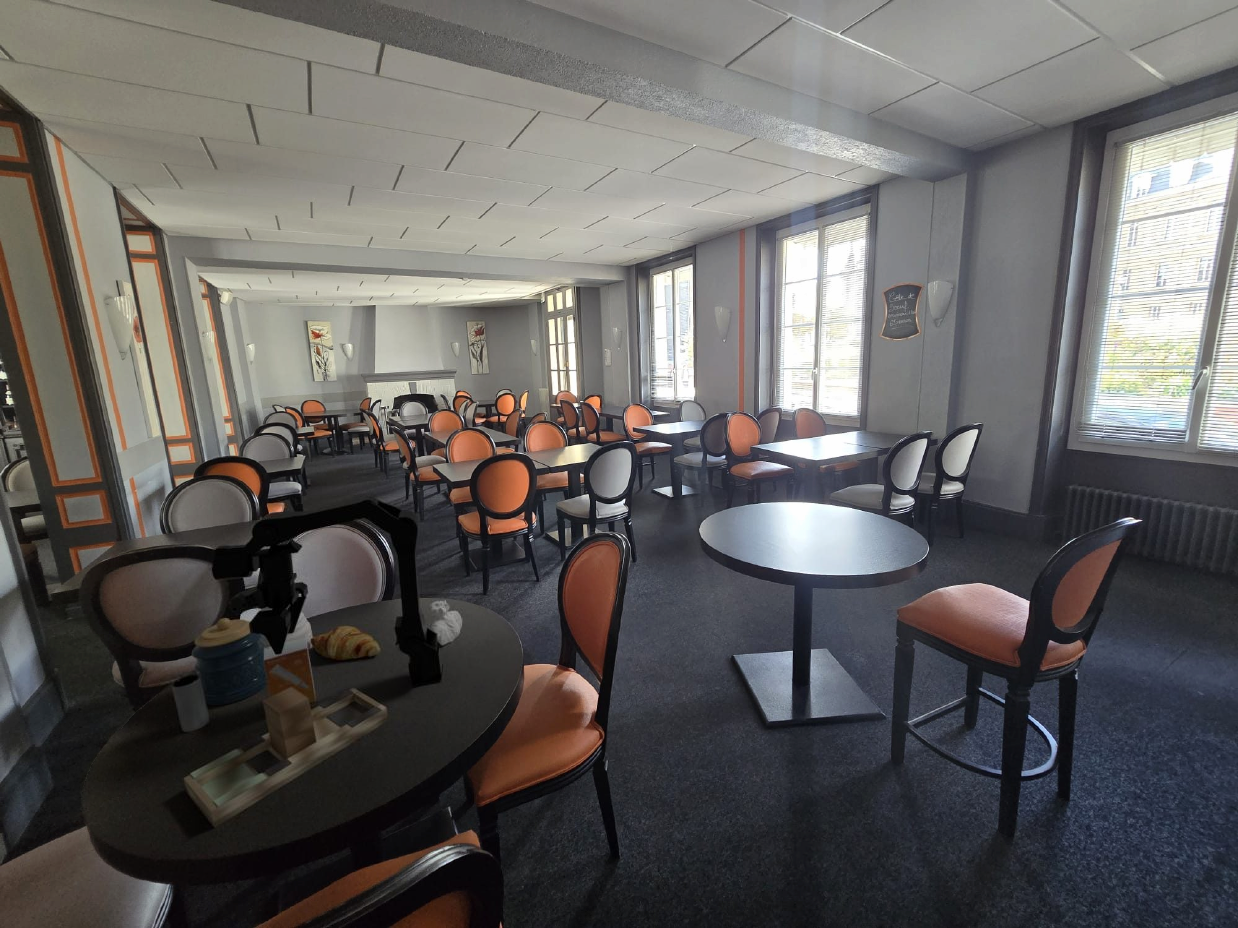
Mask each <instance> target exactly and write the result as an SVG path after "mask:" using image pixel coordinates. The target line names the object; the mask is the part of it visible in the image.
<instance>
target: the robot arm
mask: <svg viewBox="0 0 1238 928" xmlns="http://www.w3.org/2000/svg"><path fill="white" fill-rule="evenodd" d="M362 519H366V520H367V521H369V522H371V523H372V524H374V525H375V526H376V527H378V528H379V529H380V530H382V531H384V532H385V533H388V534H389V536H390V539H391V543H392V546H393V549H394V551H395V553H396V556H397V562H398V563H397V564H398V575H399V576H398V577H399V578H398V579H399V588H400V589H399V590H400V598H401V599H400V601H401V613H402V616H398V615H397V616H396V618H395V624H394V629H393V630H394V633H395V636H396V639H395V646H398V648H399V651H400V653H403V654H405V655H407V656H408V657H409V660H408V663H407V664H408V666H407V668H408V674H409V680H411V681H412V682H411V686H412V687H418V686H423V685H427V684H433V683H437V682H442V680H443V673H444V664H443V663H442V658H441V657H442V656H441V648H440V646H438V641H437V633H435V632H434V631H432V630H431V628H428V626H427V623H426V619H425V617H424V614H423V611H422V608H421V604H420V603H421V602H420V601H421V600H420V591H419V590H420V589H419V577H418V567H417V566H418V565H417V563H418V562H417V552H416V551H417V544H418V536H419V535H418V534H419V526H420V519H419V517H418V514H416V513H415V512H413V511H411V510H402V509H400V508H398V507H397V506H395V505H392V504H389V503H387V502H383V501H382V500H380V499H378V498H376V497H374V496H372V495H371V496H364V497H363V498H359V499H356V500H351V501H345V502H341V503H338V504H332V505H328V506H323V507H320V508H315V509H310V510H307V511H305V510H304V511H297V510H296V511H295V510H290V511H289V510H288V511H273V512H270V513H267V514H266V515H264V517H262V518H261V519H260V520H258V521H257V522H256V523H255V524H254V525H253V526H252V530H251V538H250V539H249V540H248V542H247V543H246V544H240V545H239V544H238V545H219V546H217V547H216V548H215V549H214V554H215V555H214V558H213V562H212V567H211V573H212V576H213V578H214V580H215V581H224V580H234V579H235V580H236V579H243V578H250V577H252V576H253V574H254V572H255V573H256V572H258V570H259V573H260V574H259V575H260V582H259V583H258V584H257V585H256V586H253V587H251V588H249V589H246V590H244V591H241V592H238V593H237V594H235V595H234V596H233V597H231V598H230V599H229V601H228V604H227V605H228V611H229V612H231V613H233V614H235V615H236V616H240V615H242V614H243V613H244V612H247V611H249V610H251V609H254V608H256V607H257V609H258V611H259V610H261V609H263V608H266V607H268V608H269V609H272V610H265V611H259V612H258V611H257V612H258V613H257V612H256V613H257V614H255V615H254V616H253V617H252V619H251V621H250V623H249V628H250V633H255V634H262V635H264V636H265V637H266V639H267V640H268V642H269V644H270V646H271V647H272V649H273V651H274V653H275V654H276V655H278V654H281V653H282V651H283V648H284V645H285V641H286V638H287V635H288V634H291V633H294V631H295V628H296V625H297V622H298V619H299V616H300V614H301V612H302V610H303V607H304V605H305V602H306V599H307V595H308V594H309V590H308V585H307V584H306V583H305V582H303V581H300V582H295V580H296V579H297V578H298V575H297V572H294V566H293V555H292V554H298V553H299V552H300V550H301V549H302V548H303V545H302V544H300V543H298V542H296V540H294V538H296V537H297V536H300V535H302V534H304V533H307V532H311V531H315V530H318V529H323V528H328V527H332V526H335V525H341V524H345V523H349V522H353V521H356V520H357V521H358V520H362ZM287 541H288V542H287ZM284 542H287V543H284ZM265 547H266V548H265ZM267 547H268V548H267Z"/></svg>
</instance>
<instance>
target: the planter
mask: <svg viewBox="0 0 1238 928" xmlns="http://www.w3.org/2000/svg"><path fill="white" fill-rule="evenodd" d="M171 689H172V693H173V697H174V701H175V705H176V709H177V713H178V718H179V722H180V727H181V730H182V731H183V732H185V733H190V732H193V731H194V732H195V731H196V730H200V729H202V728H203V727H205V726H206V725H207V724H209V722H210V716H209V710H208V707H207V703H206V701H205V697H204V692H203V688H202V683H201V679H200V676H199V675H198V674H189V675H185V676H182V677H181V678H178V679H176V680H175V681H173V682H172V684H171Z"/></svg>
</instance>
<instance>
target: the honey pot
mask: <svg viewBox="0 0 1238 928" xmlns="http://www.w3.org/2000/svg"><path fill="white" fill-rule="evenodd" d="M265 610H272V609H269V608H268V607H266V608H263V609H258V611H257V612H256V614H257V613H258V612H259V611H265ZM256 614H255V615H256ZM303 637H306V640H307V647H308V651H310V650H311V649H312V647H313V646H312V644H311V642H310V641H311V639H312V638H313V637H314V636H313V631H312V628H311V623H310V622H309V621H308V619H307V618H306V617H305V614H304V613H303V612H302V611H301V614H300V616H299V619H298V622H297V625H296V628H295V631H294V633H291V634H288V635H287V638H286V641H285V642H288V641H292V640H296V639H300V638H303ZM260 641H261V643H263V644H264V648H267V647H271V646H270V644H269V642H268V640H267V639H266V637H265V636H264V635H262V636H261V638H260Z"/></svg>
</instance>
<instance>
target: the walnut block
mask: <svg viewBox="0 0 1238 928" xmlns="http://www.w3.org/2000/svg"><path fill="white" fill-rule="evenodd" d="M262 704H263V709H264V713H265V719H266V724H267V729H268V733H269V735H270V740H271V745H272V748H273V749H274V750H275V751H276V752H277V753H278V754H280V755H281V756H282V757H283V758H284V759H286V758H287V759H288V758H290V757H292V756H293V755H295V754H297V753H299V752H300V751H302V750H304V749H305V748H307V747H309V746H311V745H312V744H314V743H316V736H315V730H314V725H313V719H312V714H311V710H312V709H311V703H309V698H307V697H306V696H304V695H303V694H301V693H300V692H298V691H297V690H296V689H294V688H293V687H290V688H288V689H286V690H284V691H282V692H280V693H278V694H276V695H274V696H272V697H270V696H269V697H268V698H266V699H263V700H262Z"/></svg>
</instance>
